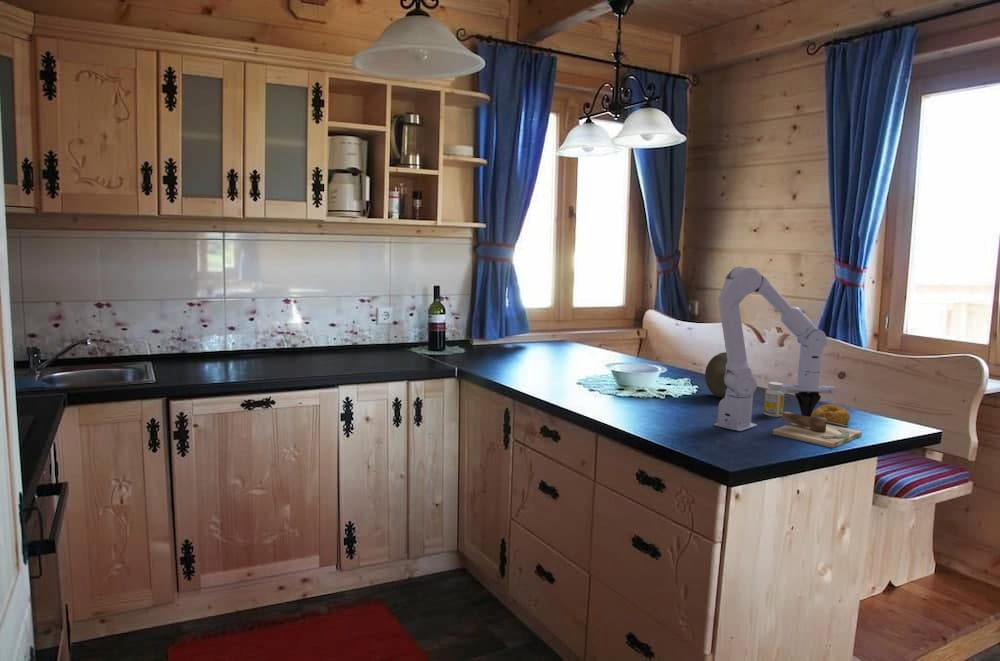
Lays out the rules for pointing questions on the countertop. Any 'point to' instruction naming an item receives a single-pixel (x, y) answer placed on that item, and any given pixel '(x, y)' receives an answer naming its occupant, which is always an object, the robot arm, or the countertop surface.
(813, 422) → the brown elongated piece
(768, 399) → the supplement bottle
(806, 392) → the robot arm
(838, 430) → the board
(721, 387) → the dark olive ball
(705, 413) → the countertop surface
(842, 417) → the bagel
